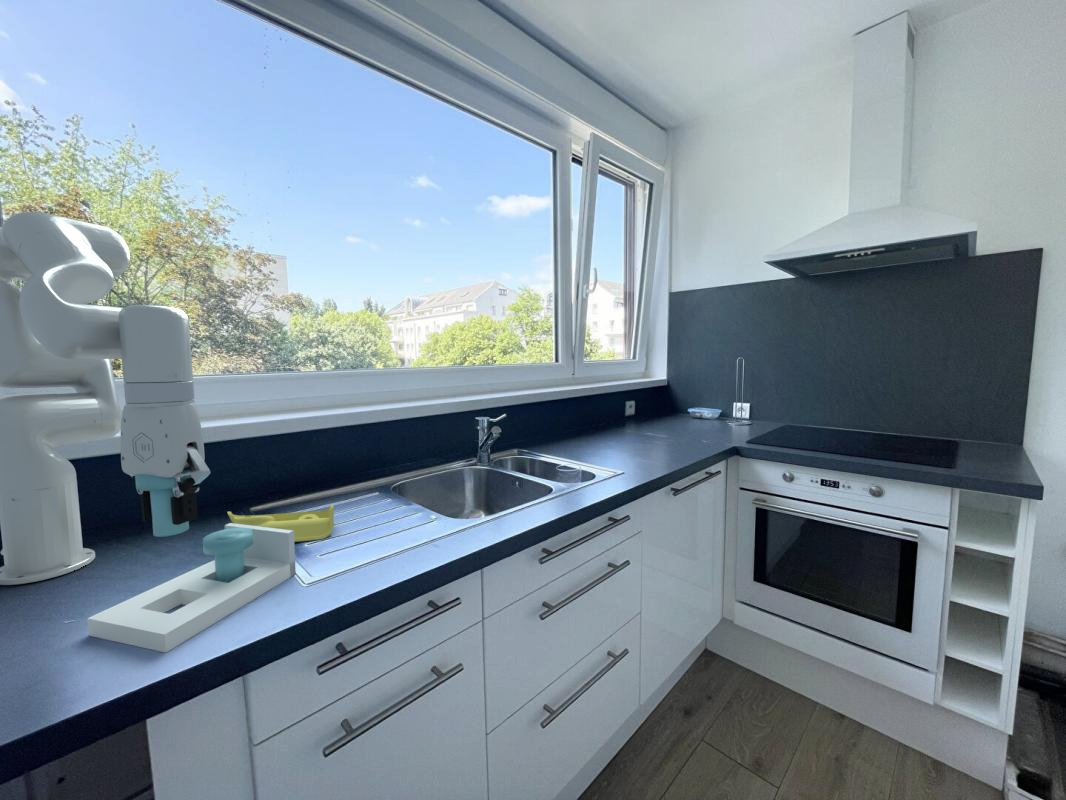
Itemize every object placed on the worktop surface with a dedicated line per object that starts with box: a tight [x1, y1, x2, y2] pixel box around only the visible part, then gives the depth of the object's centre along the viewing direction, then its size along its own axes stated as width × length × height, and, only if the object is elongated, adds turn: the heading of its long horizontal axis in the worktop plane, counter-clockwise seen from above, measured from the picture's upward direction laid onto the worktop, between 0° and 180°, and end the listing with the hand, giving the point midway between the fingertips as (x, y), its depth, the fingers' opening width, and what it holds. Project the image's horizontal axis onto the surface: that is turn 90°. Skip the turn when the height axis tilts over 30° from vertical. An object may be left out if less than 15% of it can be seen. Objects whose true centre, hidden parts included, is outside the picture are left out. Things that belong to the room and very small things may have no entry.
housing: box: [86, 522, 297, 654], centre depth 70 cm, size 14×22×8 cm, turn 166°
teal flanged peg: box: [202, 527, 253, 583], centre depth 74 cm, size 7×7×9 cm
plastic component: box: [226, 504, 335, 543], centre depth 96 cm, size 20×7×10 cm
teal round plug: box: [135, 468, 191, 538], centre depth 64 cm, size 7×7×9 cm
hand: (170, 518), depth 64 cm, fingers closed on teal round plug, 4 cm apart
